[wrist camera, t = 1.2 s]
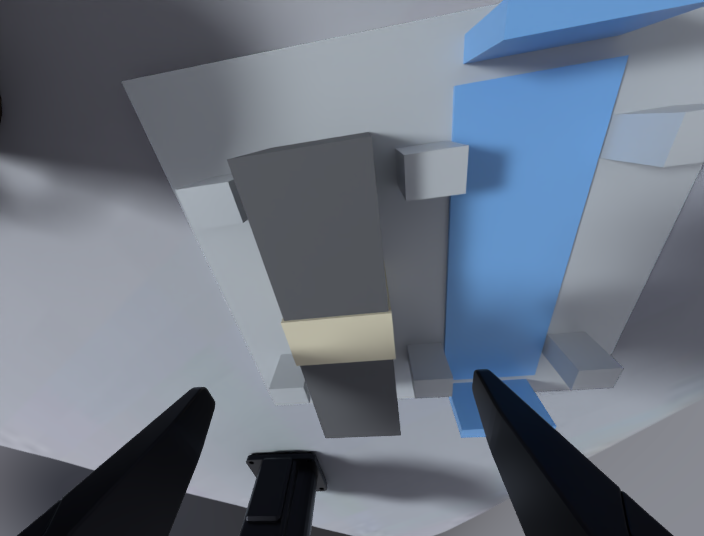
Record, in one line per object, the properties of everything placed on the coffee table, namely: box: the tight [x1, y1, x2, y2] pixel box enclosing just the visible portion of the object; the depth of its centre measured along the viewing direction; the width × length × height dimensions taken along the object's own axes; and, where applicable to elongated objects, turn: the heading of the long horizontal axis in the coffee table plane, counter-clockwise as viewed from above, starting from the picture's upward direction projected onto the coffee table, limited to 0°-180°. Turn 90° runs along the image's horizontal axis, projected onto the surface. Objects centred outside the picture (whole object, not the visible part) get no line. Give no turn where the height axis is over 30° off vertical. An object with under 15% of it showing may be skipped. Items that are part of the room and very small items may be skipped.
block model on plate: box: [121, 0, 704, 438], centre depth 12 cm, size 20×22×4 cm
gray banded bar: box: [227, 132, 401, 438], centre depth 12 cm, size 14×4×4 cm, turn 8°
